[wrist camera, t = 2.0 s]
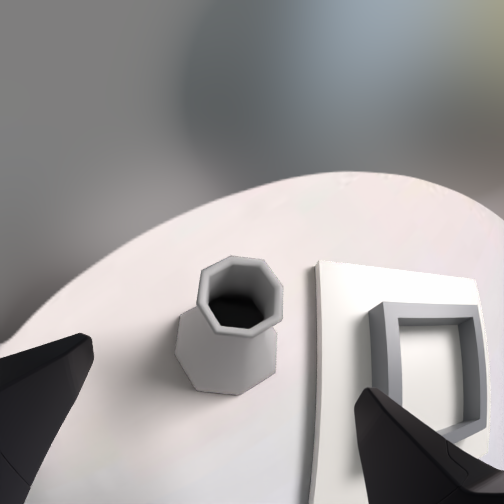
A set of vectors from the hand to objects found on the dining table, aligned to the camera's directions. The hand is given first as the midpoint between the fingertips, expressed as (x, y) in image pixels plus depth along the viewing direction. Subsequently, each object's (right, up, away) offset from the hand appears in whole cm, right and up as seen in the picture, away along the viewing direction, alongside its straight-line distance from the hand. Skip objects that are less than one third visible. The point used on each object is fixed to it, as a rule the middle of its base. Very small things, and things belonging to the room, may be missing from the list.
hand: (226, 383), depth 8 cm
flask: (-1, -3, +11) cm, 11 cm away
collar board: (+15, -7, +11) cm, 20 cm away
